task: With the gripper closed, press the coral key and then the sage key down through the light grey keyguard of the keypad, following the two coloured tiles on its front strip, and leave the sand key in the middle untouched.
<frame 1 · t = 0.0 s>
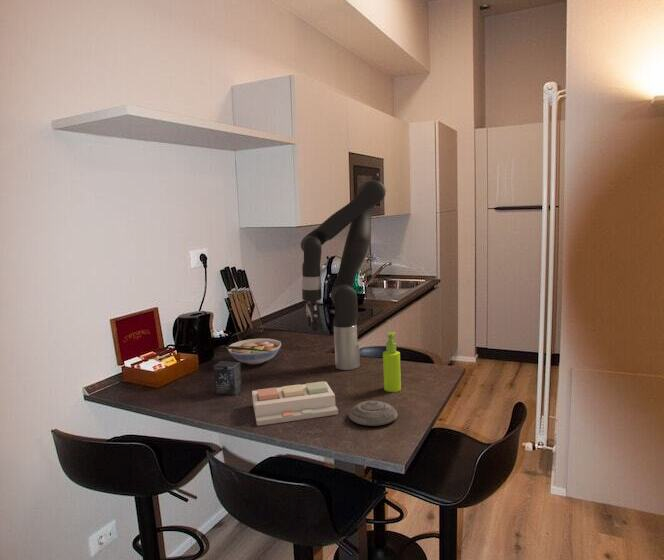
hand: (312, 328, 196), 17 cm above the counter, tool pointing down, fingers open, 8 cm apart
coral key: (267, 396, 160), point 5 cm above the counter, slide at 0.0 cm
keypad: (293, 407, 163), on the counter
flying saucer: (373, 419, 152), on the counter
box: (229, 392, 180), on the counter
ramen bowl: (255, 362, 213), on the counter
sand key: (292, 392, 162), point 5 cm above the counter, slide at 0.0 cm
sage key: (316, 389, 164), point 5 cm above the counter, slide at 0.0 cm
soap dispenser: (392, 389, 175), on the counter
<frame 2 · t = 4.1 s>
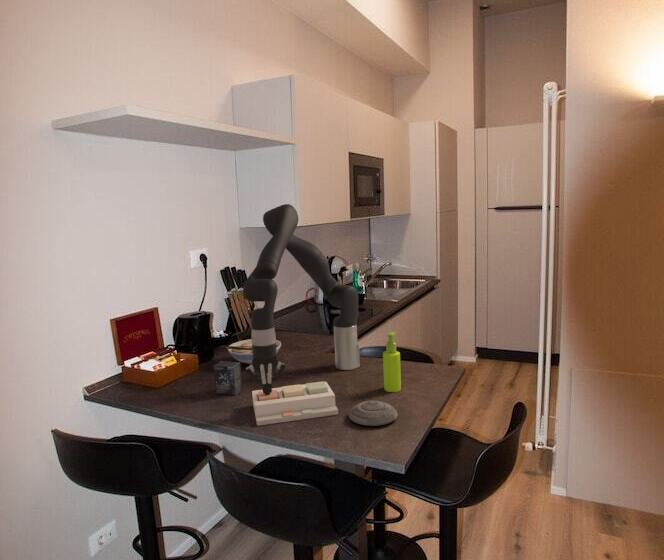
hand: (267, 394, 160), 6 cm above the counter, tool pointing down, fingers closed
coral key: (268, 398, 160), point 4 cm above the counter, slide at 0.8 cm, touching gripper
everything else where it was.
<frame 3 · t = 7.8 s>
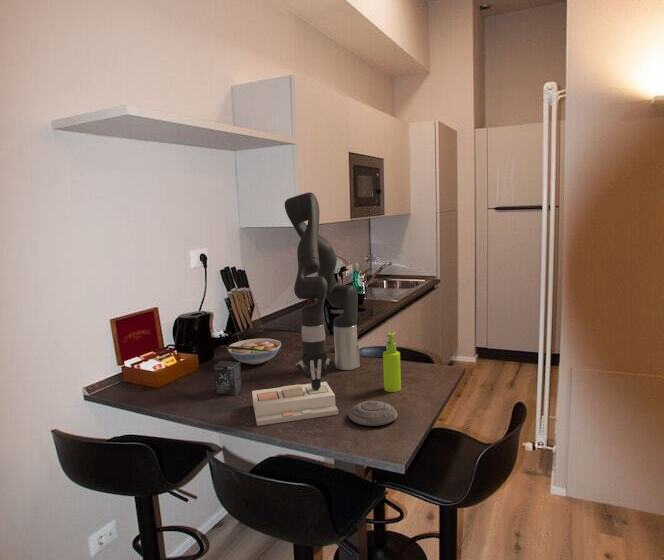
hand: (316, 389, 164), 5 cm above the counter, tool pointing down, fingers closed
coral key: (268, 400, 160), point 3 cm above the counter, slide at 1.5 cm
sage key: (316, 393, 164), point 4 cm above the counter, slide at 1.3 cm, touching gripper
everything else where it was.
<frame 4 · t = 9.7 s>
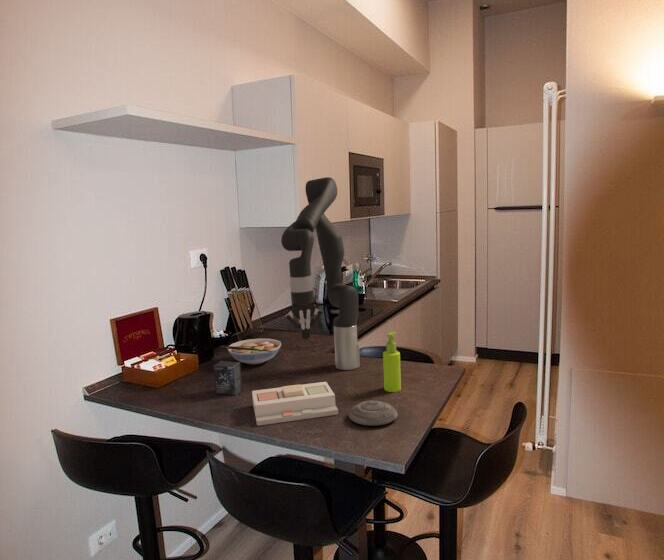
hand: (305, 339, 170), 20 cm above the counter, tool pointing down, fingers closed
sage key: (317, 394, 164), point 3 cm above the counter, slide at 1.6 cm
everything else where it was.
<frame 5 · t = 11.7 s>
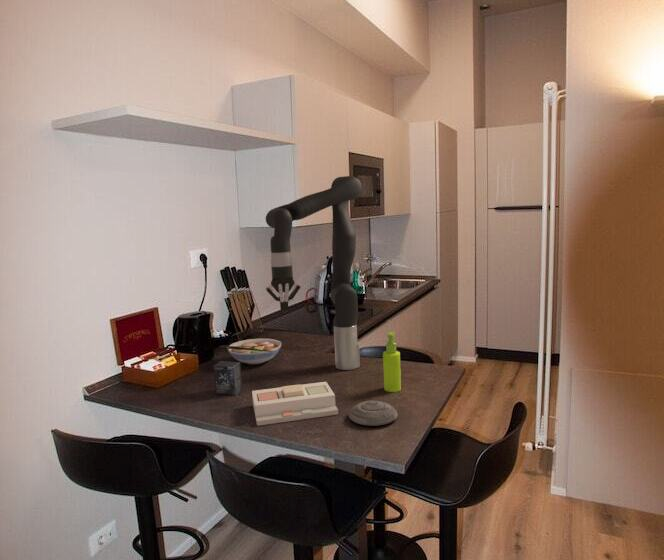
hand: (284, 311, 182), 27 cm above the counter, tool pointing down, fingers closed
nothing on the counter moved.
at the end: coral key slide at 1.5 cm; sage key slide at 1.6 cm; sand key slide at 0.0 cm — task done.
